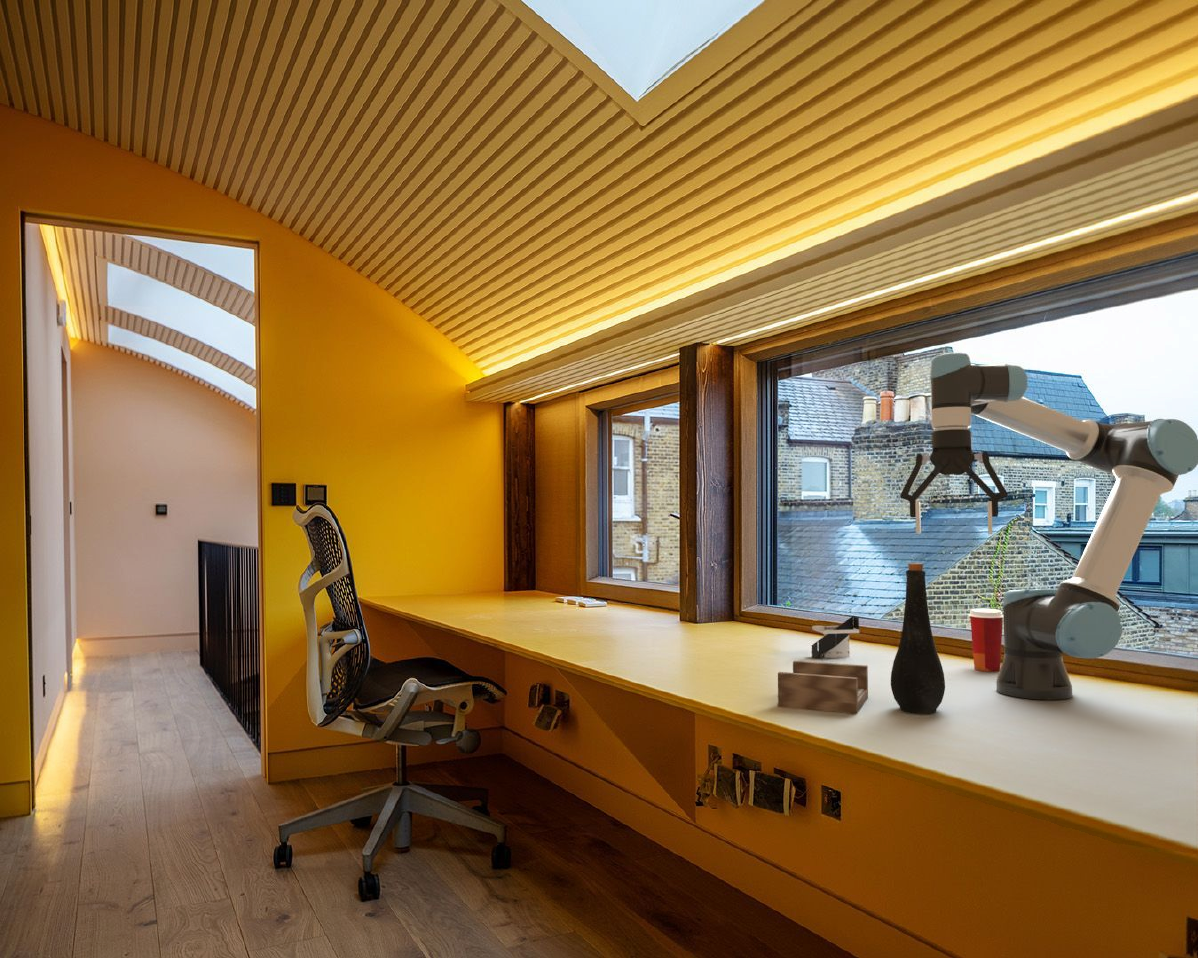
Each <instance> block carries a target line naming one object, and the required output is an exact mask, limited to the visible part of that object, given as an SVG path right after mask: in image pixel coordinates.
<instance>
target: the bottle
mask: <svg viewBox="0 0 1198 958" xmlns="http://www.w3.org/2000/svg"><path fill="white" fill-rule="evenodd" d="M907 566H908V570H906V571H905V574H906V584H905V585H906V587H905V601H904V611H903V612H904V613H903V621H902V628H901V633H900V634H901V635H900V641H899V644H898V648H897V651H896V654H895V656H894V660H893V663H892V667H891V672H890V689H891V692H892V696H893V699H894V700H895V702H896V703H897V705H898V706H899V711H901V712H904V713H908V714H912V715H913V714H914V715H932V714H936V713H937V710H938V708H939V707H940V705H941V704H942V702H943V699H944V695H945V691H946V681H945V680H946V678H945V673H944V669H943V666H942V662H941V659H940V656H939V654H938V651H937V648H936V645H935V641H934V637H933V632H932V626H931V620H930V614H929V613H930V612H929V606H928V601H927V600H928V598H927V587H926V570H924V569H923V568H924V563H922V562H921V563H917V562H910V563H907Z"/></svg>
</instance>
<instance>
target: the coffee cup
mask: <svg viewBox="0 0 1198 958" xmlns="http://www.w3.org/2000/svg"><path fill="white" fill-rule="evenodd" d="M967 616H969V619H970V620H969V621H970V630H971V633H970V634H971V644H972V656H973V658H972V659H973V665H974V666H973V667H974V670H976V671H979V672H986V673H987V672H989V673H991V672H992V673H995V672H999V671H1000V668H1001V665H1002V661H1001V660H1002V645H1003V644H1002V641H1003V639H1002V638H1003V623H1004V616H1003V610H1000V609H995V608H973V609H972V608H971V609H970V611H969V614H967Z"/></svg>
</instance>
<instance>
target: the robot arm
mask: <svg viewBox="0 0 1198 958" xmlns="http://www.w3.org/2000/svg"><path fill="white" fill-rule="evenodd" d="M930 363H931V364H930V365H931V366H930V374H929V379H930V398H931V399H930V400H931V401H930V403H931V410H930V411H931V412H930V413H931V415H930V417H931V428H932V429H933V430H934V431H932V433H931V447H932V451H931V454H930V455H928V454H921V453H918V454H916V456H915V465H914V467H913V468H912V471H911V473H910V475H909V476H908V479H907V481H906V482H905V485H904V487H903V489H902V491H901V493H900V494H899V495H900V496H899V497H900V498H901V499H902V500H906V501H908V502H909V516H910V518H915V534H917V535H920V534H921V533H922V527H921V526H922V523H921V521H922V520H921V502H920V501H917V500H918V499H919V498H920V497H921V495H922V494H923V493H924V492H925V491H926V490H927V488H928V487H929V486H930V485H931V484H932V483H933V482H934V481H935V479H936V478H937V477H938V476H939V475H940V474H941V475H943V476H950V475H956V476H961V475H963V474H967V475H968V476H969V478H971V480H972V481H974V483H975V484H976V485H977V486H979V488H980V489H981V490H982V491H983V492H984V493H985V494H986V495H987V496H988V498H990V499H991V500H988V501H987V522H988V523H987V528H988V529H987V531H988V535H993V518H997V517H998V516H999V502H1000V500H1002V499H1005V498H1007V497H1008V495H1009V493H1008V492H1007V490H1006V489H1005V487H1004V485H1003V482H1002V481H1001V479H1000V478H999V476H998V474H997V473H996V471H995V470H994V468H993V466H992V464H991V462H990V457H989V452H987V451H983V452H981V453H973V441H972V440H973V439H972V438H973V437H972V436H973V435H972V431H971V430H970V429H969V428H971V427H972V415H973V416H977V417H978V418H981V419H983V420H986V421H989V422H990V423H994V424H996V425H999V426H1001V427H1004V428H1006V429H1009V430H1011V431H1014V432H1016V433H1018V434H1021V435H1024V436H1026V437H1028V438H1031V439H1033V440H1036V441H1039V442H1042V443H1043V444H1046V445H1049V446H1051V447H1054V448H1056V449H1059V450H1061V451H1064V452H1065V453H1066V455H1067V457H1068V458H1069V459H1071V460H1073V461H1076V462H1079V463H1081V464H1083V465H1086V466H1089V467H1092V468H1093V469H1097V470H1099V471H1102V472H1105V473H1108V474H1111V475H1113V476H1114V477H1115V480H1116V481H1115V483H1114V485H1113V487H1112V489H1111V491H1110V493H1109V496H1108V498H1107V499H1106V503H1105V504H1104V506H1103V509H1102V511H1101V514H1100V516H1099V518H1098V520H1097V522H1096V524H1095V527H1094V529H1093V531H1092V533H1091V535H1090V538H1089V540H1088V542H1087V544H1086V547H1085V548H1084V550H1083V553H1082V555H1081V557H1080V559H1079V561H1078V564H1077V566H1076V568H1075V571H1074V572H1073V575H1072V576H1071V578H1069V579H1066V580H1064V581H1061V582H1060V583H1059V585H1058V588H1036V589H1035V588H1032V589H1031V588H1030V589H1014V590H1013V589H1011V590H1008V591H1006V592H1005V593H1004V594H1003V601H1002V603H1003V604H1002V606H1001V607H1002V615H1003V616H1004V617H1003V648H1004V652H1003V653H1004V654H1003V660H1002V661H1001V665H1000V671H998V675H997V677H996V681H995V683H996V691H997V693H1001V694H1003V695H1006V696H1010V697H1015V698H1022V699H1029V700H1042V701H1043V700H1045V701H1046V700H1049V701H1051V700H1054V701H1056V700H1064V699H1069V698H1072V697H1073V686H1072V685H1073V684H1072V682H1071V679H1070V676H1069V674H1068V671H1067V667H1066V665H1065V663H1064V660H1063V654H1065V655H1068V656H1070V657H1072V658H1078V659H1079V658H1080V659H1081V658H1082V659H1091V660H1092V659H1097V658H1100V657H1104V656H1106V655H1108V654H1109V653H1111V652H1112V651H1113V650H1114V649H1115V648H1116V646H1117V645H1118V643H1119V641H1121V637H1122V634H1123V625H1122V624H1121V622H1122V619H1121V616H1120V615H1119V613H1118V611H1119V609H1120V606H1121V604H1120V602H1119V600H1118V598H1117V593H1118V591H1119V589H1120V587H1121V584H1122V582H1123V579H1124V578H1125V575H1126V573H1127V571H1128V569H1129V567H1130V564H1131V562H1132V561H1133V560H1132V559H1133V557H1134V555H1135V553H1136V551H1137V549H1138V547H1139V544H1140V542H1141V539H1142V537H1143V535H1144V533H1145V531H1146V528H1147V527H1148V524H1149V522H1150V520H1151V517H1152V515H1153V513H1154V510H1155V509H1156V506H1157V504H1158V502H1159V500H1160V498H1161V495H1163V494H1165V493H1168V492H1172V490H1173V489H1174V487H1175V484H1176V482H1177V481H1178V478H1179V476H1181V475H1186V474H1188V473H1190V472H1192V471H1194V470H1195V469H1196V468H1197V466H1198V435H1197V433H1196V431H1195V430H1194V429H1193V427H1191V426H1190V425H1189V424H1187V423H1186V422H1184V421H1182V420H1180V419H1176V418H1167V419H1165V418H1157V419H1154V420H1150V421H1141V422H1131V423H1130V422H1129V423H1121V424H1119V423H1118V424H1117V423H1116V424H1115V423H1114V424H1113V423H1111V424H1109V423H1102V422H1098V421H1096V420H1093V419H1088V418H1087V419H1084V420H1081V419H1079V418H1075V417H1073V416H1071V415H1068V414H1065V413H1063V412H1061V411H1058V410H1056V409H1053V408H1051V407H1049V406H1045V405H1044V404H1041V403H1039V402H1036V401H1035V400H1031V399H1028V398H1026V397H1024V395H1025V394H1026V392H1027V388H1028V386H1029V384H1028V376H1027V373H1026V370H1025V369H1024V368H1022V367H1021V366H1020V365H1014V364H1013V365H1011V364H1007V363H1004V364H974V363H972V362H971V357H970V355H969V354H968V353H963V352H946V353H940V354H937V355H935V356H934V357H933V358H932V359H931V362H930ZM975 460H977V461H978V463H979V464H983V467H984V468H985V470H986V472H987V474H988V475H989V477H990V478H991V480H992V482H993V483H994V486H995V487H996V489H997V491H998V493H995V492H994V491H993V490H992V489H991V488H990V487H989V486H988V485H987V484H986V482H984V481H983V480H982V479H981V477H979V475H978V474H977V473H975V471H974V470H973V469H972V468H971V467H970V466H971V465H972V464H973V462H974V461H975ZM929 461H930V463H931V464H932V465H933V466H934V468H933V470H932V471H931V472H930V473H929V474H928V476H927V477H926V478H925V479H924V481H922V483H921V484H920V485H919V486H918V487H917V489H916V490H915V491H914V492H913V493H912V494H910V492H911V490H912V488H913V486H914V485H915V482H916V480H917V478H918V476H919V474H920V472H921V470H922V468H923V466H925V465H926V464H927V463H928V462H929Z"/></svg>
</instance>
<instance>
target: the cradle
mask: <svg viewBox="0 0 1198 958" xmlns="http://www.w3.org/2000/svg"><path fill="white" fill-rule="evenodd" d="M868 667H869V666H868V665H867V664H866V665H865V664H853V663H852V664H851V663H850V664H849V663H837V662H836V663H835V662H834V663H833V662H824V661H823V662H819V661H806V660H793V661H792V672H788V671H786V672H785V671H779V672H777V704H778V705H777V707H778V708H789V709H790V708H791V709H799V710H810V711H811V710H812V711H821V710H824V711H823V712H832V711H836V712H835V713H843V712H845V713H844V714H855V715H856V714H858V713H859V712H860V710H861V708H863V706H864V704H865V703H866V701H867V700H868V698H869V680H868V679H869V677H868V676H869V675H868V674H869V672H868V671H869V669H868Z"/></svg>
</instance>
